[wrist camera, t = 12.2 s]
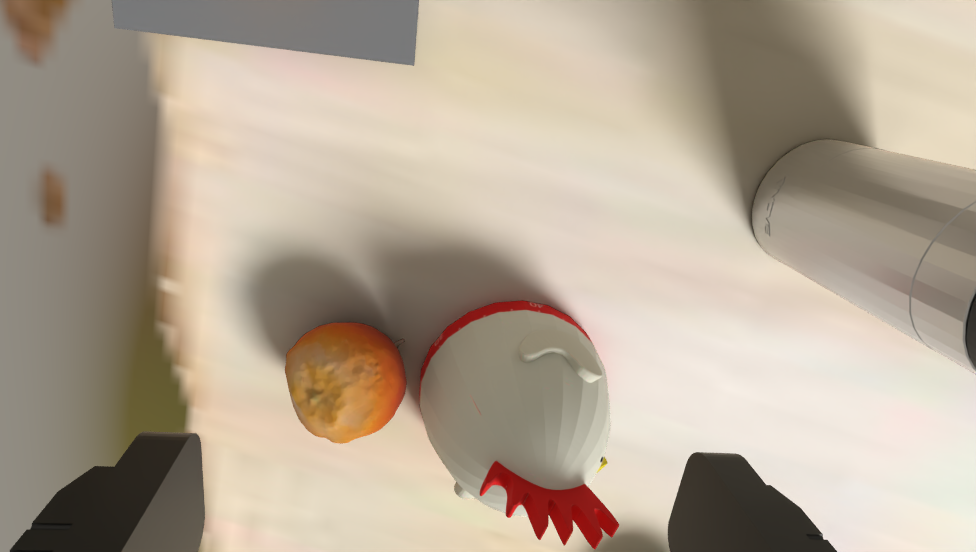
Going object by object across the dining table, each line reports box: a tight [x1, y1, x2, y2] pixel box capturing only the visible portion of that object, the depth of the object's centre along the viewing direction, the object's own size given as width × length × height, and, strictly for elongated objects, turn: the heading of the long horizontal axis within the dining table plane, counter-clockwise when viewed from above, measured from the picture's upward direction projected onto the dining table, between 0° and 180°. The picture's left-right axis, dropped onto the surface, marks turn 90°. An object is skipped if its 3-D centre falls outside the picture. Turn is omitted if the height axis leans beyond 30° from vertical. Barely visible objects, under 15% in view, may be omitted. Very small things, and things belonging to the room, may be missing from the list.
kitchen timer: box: [419, 301, 619, 549], centre depth 37 cm, size 14×14×15 cm
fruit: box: [285, 323, 407, 443], centre depth 39 cm, size 8×8×8 cm
